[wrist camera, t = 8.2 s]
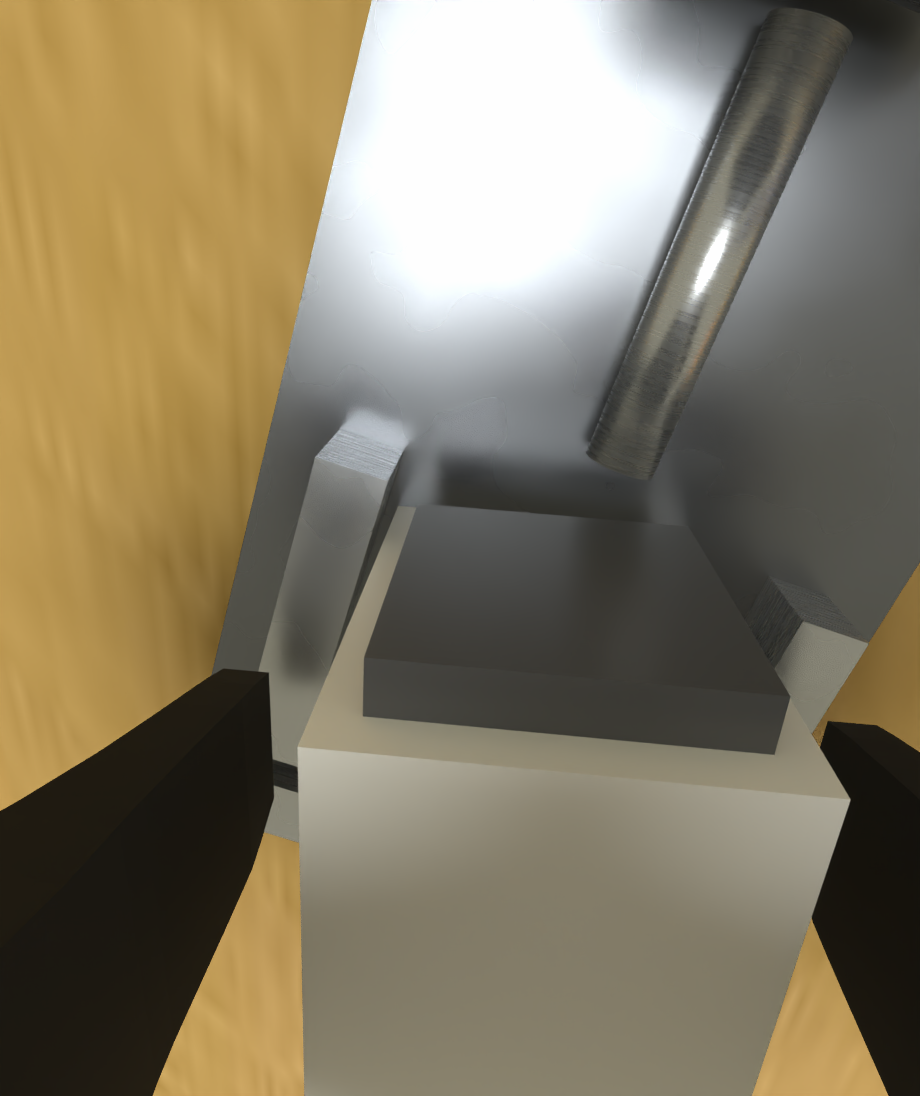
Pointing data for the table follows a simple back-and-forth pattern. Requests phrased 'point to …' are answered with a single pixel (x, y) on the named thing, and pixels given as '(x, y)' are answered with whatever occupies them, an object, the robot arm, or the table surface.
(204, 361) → the table surface
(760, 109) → the grey metal base
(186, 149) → the table surface
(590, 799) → the white cube grey lid
